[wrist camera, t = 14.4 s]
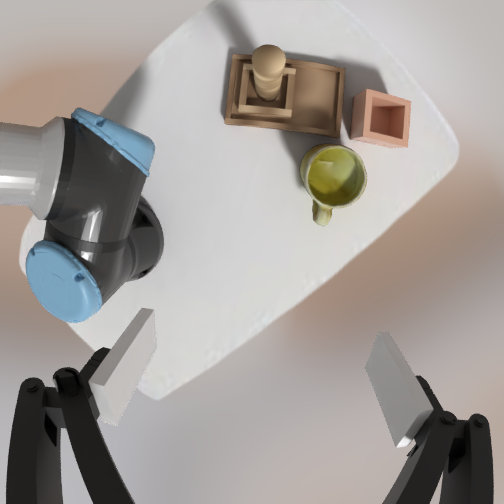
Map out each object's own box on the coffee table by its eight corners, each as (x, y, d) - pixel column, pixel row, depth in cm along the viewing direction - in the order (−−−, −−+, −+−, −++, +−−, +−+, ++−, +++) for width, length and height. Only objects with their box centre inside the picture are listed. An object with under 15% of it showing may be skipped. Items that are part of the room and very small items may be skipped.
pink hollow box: (349, 139, 44) (362, 136, 38) (353, 97, 42) (366, 88, 35) (389, 147, 44) (407, 147, 37) (393, 107, 42) (410, 101, 35)
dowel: (255, 100, 42) (250, 71, 27) (257, 80, 41) (253, 43, 26) (278, 102, 42) (284, 74, 27) (279, 82, 41) (286, 46, 26)
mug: (306, 122, 42) (332, 138, 34) (355, 150, 46) (386, 171, 38) (271, 187, 48) (287, 217, 40) (320, 208, 52) (343, 238, 44)
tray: (226, 124, 45) (223, 122, 41) (234, 58, 41) (232, 52, 38) (336, 138, 44) (341, 136, 41) (342, 72, 41) (346, 66, 38)
